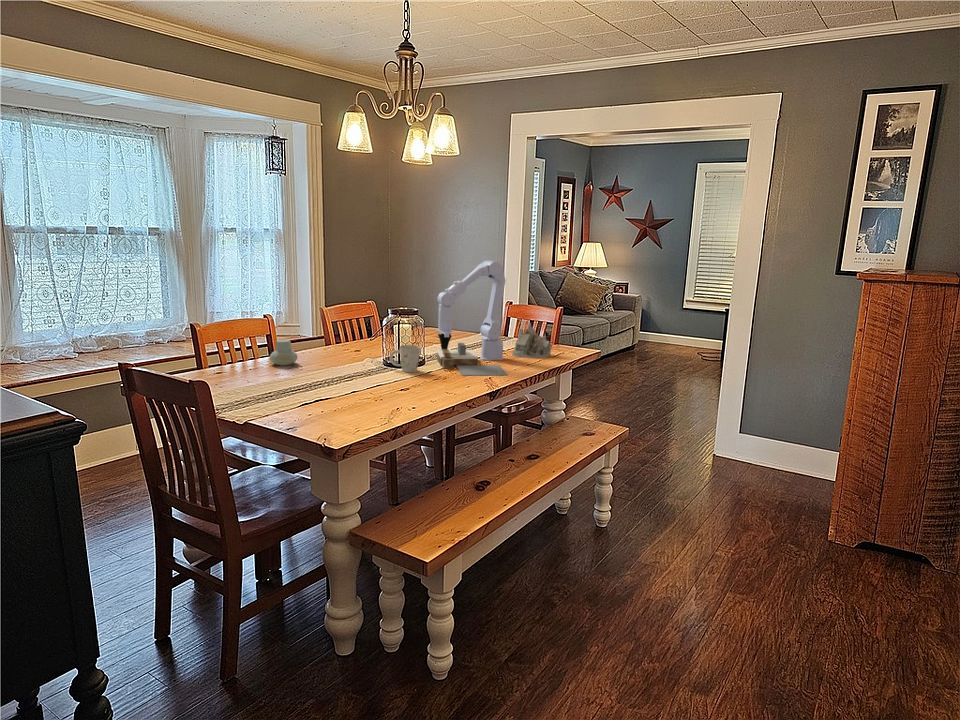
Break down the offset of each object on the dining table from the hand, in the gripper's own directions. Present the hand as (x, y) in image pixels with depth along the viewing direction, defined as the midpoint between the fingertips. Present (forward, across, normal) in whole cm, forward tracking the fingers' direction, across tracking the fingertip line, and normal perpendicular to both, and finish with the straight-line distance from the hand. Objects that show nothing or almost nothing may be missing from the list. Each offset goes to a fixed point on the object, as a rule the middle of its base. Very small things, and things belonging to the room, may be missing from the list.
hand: (444, 350), depth 279 cm
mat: (+5, +17, +14) cm, 23 cm away
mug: (+5, +16, -18) cm, 25 cm away
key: (+1, +6, 0) cm, 7 cm away
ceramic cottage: (+5, -13, +43) cm, 45 cm away
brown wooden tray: (+5, +4, +6) cm, 9 cm away
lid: (+2, +2, +6) cm, 6 cm away
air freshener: (+5, +4, -68) cm, 68 cm away
